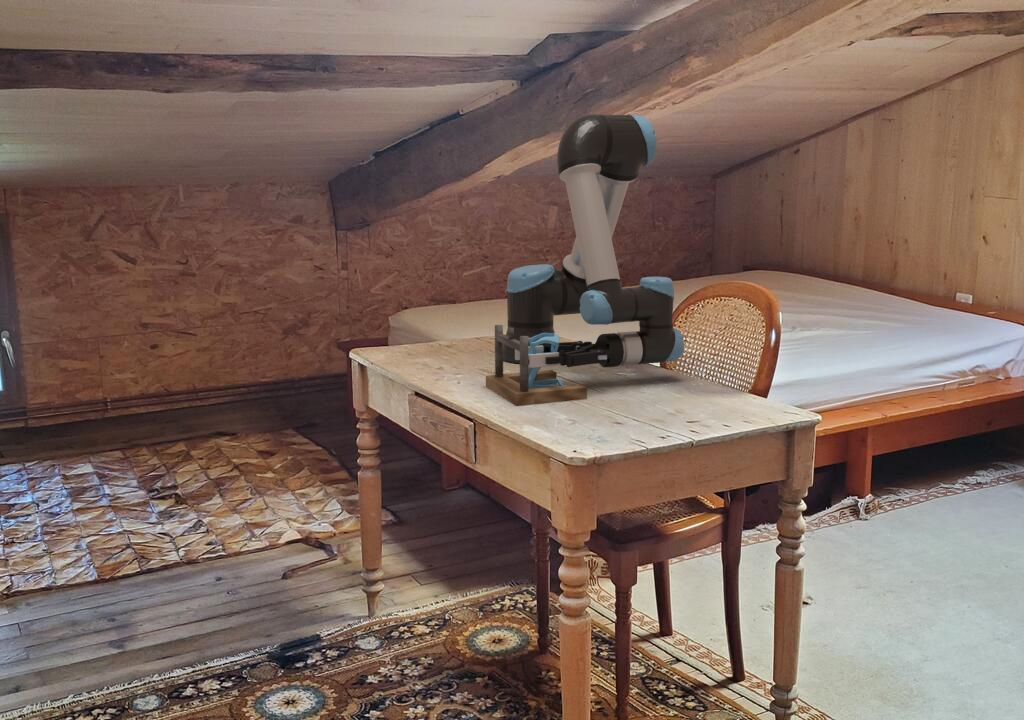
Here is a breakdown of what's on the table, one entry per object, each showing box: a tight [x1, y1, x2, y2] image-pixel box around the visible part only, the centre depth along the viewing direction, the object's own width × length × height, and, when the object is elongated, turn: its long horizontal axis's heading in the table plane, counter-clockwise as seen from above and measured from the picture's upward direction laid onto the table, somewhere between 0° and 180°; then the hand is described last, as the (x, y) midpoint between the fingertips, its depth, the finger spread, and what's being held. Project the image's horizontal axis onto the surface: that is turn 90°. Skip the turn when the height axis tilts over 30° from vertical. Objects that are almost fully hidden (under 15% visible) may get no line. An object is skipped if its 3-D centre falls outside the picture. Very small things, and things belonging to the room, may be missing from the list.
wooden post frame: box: [485, 324, 588, 407], centre depth 215 cm, size 16×19×15 cm
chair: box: [528, 332, 565, 389], centre depth 215 cm, size 8×8×12 cm
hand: (522, 357), depth 214 cm, fingers closed on chair, 8 cm apart
